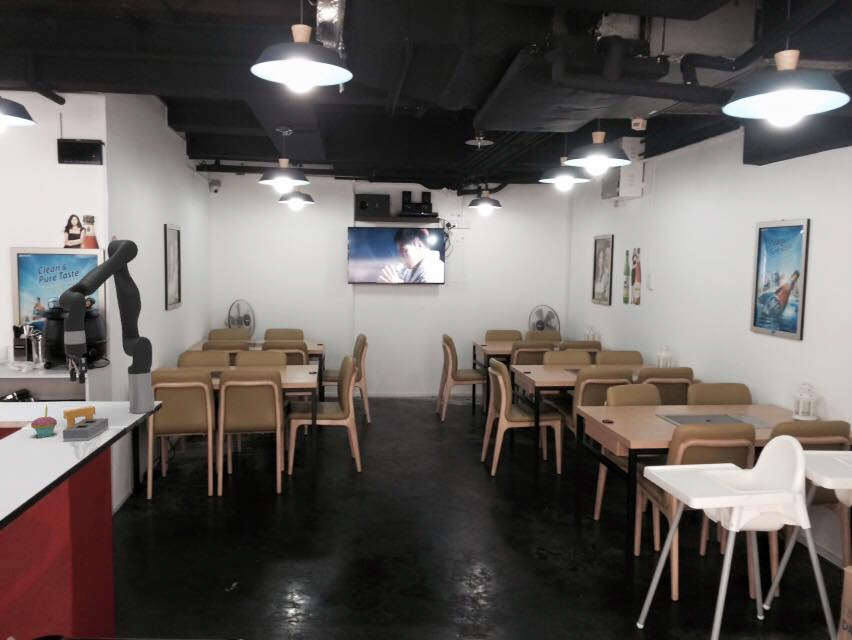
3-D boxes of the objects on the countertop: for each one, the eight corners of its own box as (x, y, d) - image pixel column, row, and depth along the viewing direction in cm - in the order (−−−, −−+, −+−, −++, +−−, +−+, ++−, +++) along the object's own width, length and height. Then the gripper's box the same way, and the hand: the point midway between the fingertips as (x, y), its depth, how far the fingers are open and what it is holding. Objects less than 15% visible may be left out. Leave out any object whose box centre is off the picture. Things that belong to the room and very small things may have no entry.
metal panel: (85, 428, 262) (84, 418, 262) (108, 428, 263) (107, 418, 263) (63, 441, 244) (62, 430, 244) (88, 440, 245) (87, 429, 245)
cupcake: (62, 433, 256) (60, 402, 255) (43, 439, 248) (41, 407, 247) (46, 431, 259) (44, 401, 258) (26, 437, 251) (24, 406, 250)
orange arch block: (93, 422, 272) (92, 406, 272) (96, 423, 270) (95, 407, 270) (64, 428, 264) (63, 410, 263) (67, 429, 262) (66, 411, 261)
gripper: (92, 342, 262) (94, 382, 264) (77, 340, 272) (80, 379, 273) (72, 344, 257) (75, 385, 258) (58, 341, 266) (60, 381, 267)
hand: (77, 382), depth 266 cm, fingers open, 8 cm apart
